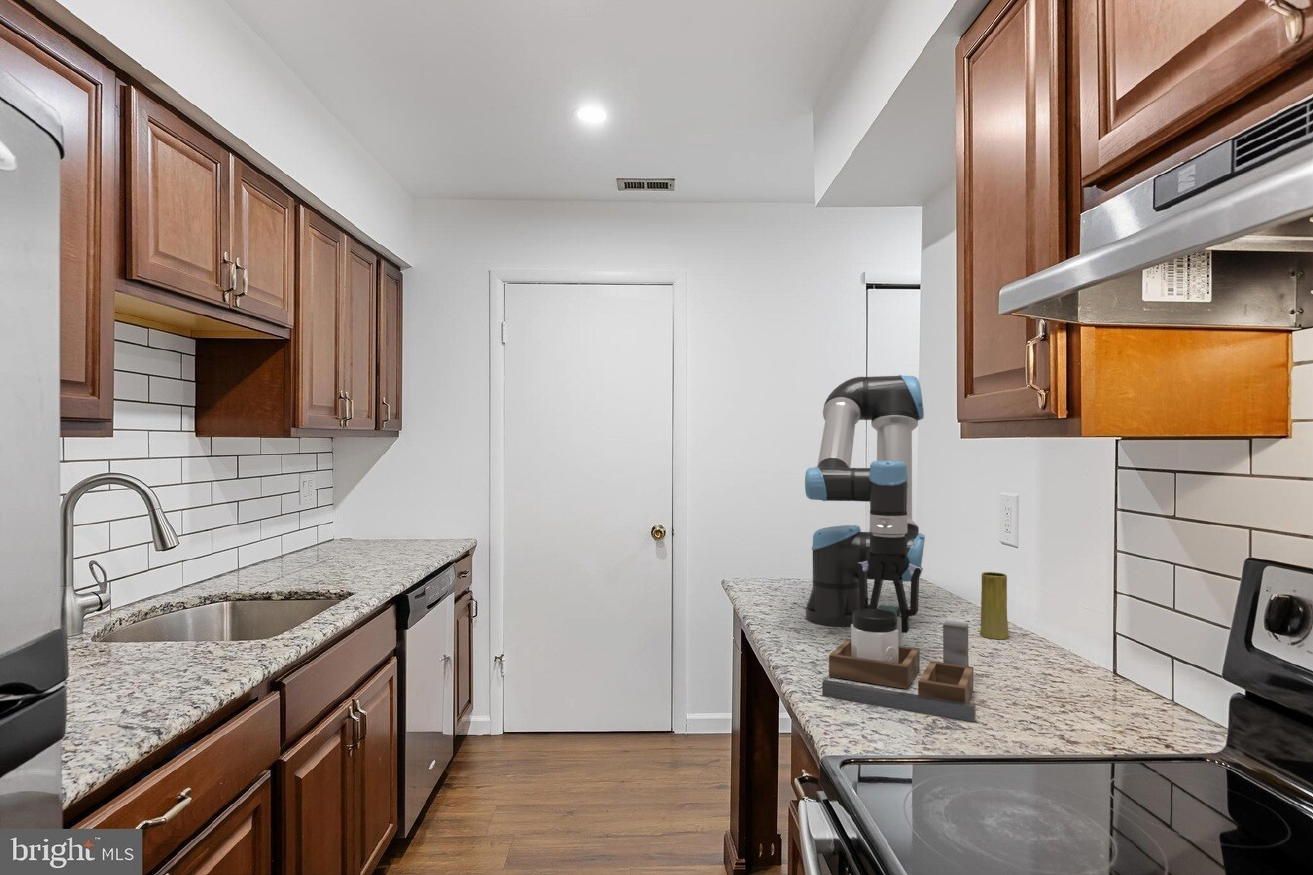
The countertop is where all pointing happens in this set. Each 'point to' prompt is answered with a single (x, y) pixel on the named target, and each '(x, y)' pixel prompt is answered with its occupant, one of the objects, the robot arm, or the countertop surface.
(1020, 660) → the countertop surface
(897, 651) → the jar
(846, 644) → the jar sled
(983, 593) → the vase
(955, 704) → the end bar
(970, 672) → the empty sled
